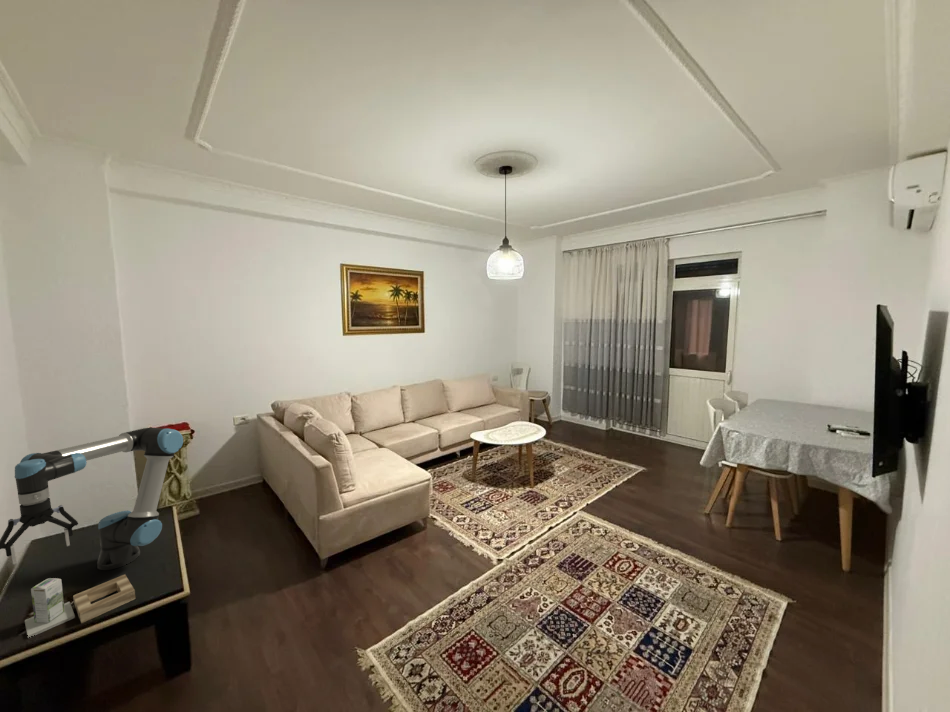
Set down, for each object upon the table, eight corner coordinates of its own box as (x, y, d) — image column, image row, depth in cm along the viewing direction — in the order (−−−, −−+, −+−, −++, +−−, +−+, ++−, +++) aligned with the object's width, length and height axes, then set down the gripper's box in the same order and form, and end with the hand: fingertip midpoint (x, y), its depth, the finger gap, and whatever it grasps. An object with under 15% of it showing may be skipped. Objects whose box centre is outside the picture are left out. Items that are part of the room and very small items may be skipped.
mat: (24, 622, 146) (24, 620, 146) (69, 603, 156) (69, 601, 156) (28, 638, 139) (27, 636, 139) (74, 617, 149) (74, 615, 149)
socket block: (74, 604, 156) (73, 595, 155) (125, 582, 168) (125, 574, 168) (81, 623, 146) (80, 614, 146) (135, 598, 159) (134, 590, 158)
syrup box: (51, 611, 151) (46, 577, 149) (65, 611, 151) (61, 578, 149) (34, 623, 145) (29, 588, 143) (49, 623, 145) (44, 588, 143)
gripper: (-20, 518, 130) (-11, 575, 133) (83, 491, 150) (89, 541, 152) (-20, 511, 134) (-11, 566, 137) (80, 486, 154) (86, 534, 157)
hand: (42, 553), depth 145 cm, fingers open, 13 cm apart
